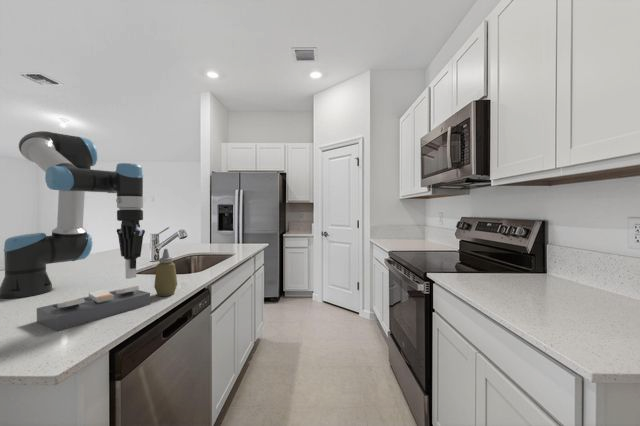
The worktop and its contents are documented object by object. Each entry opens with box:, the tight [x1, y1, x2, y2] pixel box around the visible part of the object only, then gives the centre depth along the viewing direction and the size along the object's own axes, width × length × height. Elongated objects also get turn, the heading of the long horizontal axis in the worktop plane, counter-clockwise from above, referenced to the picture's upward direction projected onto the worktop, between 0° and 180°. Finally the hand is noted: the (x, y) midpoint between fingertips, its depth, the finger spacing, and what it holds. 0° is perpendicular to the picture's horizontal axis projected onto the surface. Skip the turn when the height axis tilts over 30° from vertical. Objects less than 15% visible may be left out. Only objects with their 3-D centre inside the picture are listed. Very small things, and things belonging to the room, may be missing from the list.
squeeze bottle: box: [154, 248, 178, 297], centre depth 116 cm, size 8×8×18 cm
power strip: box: [36, 289, 151, 332], centre depth 98 cm, size 20×26×5 cm
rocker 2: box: [116, 285, 140, 294], centre depth 102 cm, size 6×4×1 cm
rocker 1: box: [56, 297, 85, 308], centre depth 88 cm, size 6×4×1 cm
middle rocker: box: [88, 289, 114, 303], centre depth 95 cm, size 6×4×1 cm
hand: (131, 277), depth 101 cm, fingers closed
